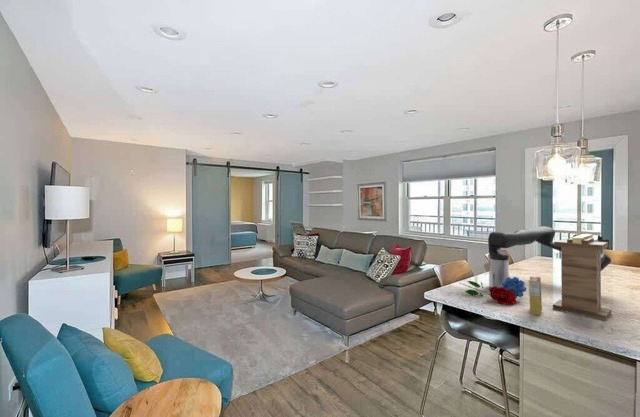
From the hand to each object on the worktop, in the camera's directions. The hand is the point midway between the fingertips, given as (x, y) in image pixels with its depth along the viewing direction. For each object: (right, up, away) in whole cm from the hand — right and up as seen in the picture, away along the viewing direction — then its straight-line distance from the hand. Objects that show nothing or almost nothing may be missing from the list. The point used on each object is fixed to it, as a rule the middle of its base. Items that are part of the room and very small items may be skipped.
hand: (586, 236), depth 139 cm
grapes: (-28, -34, +11) cm, 45 cm away
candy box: (-31, -34, -7) cm, 46 cm away
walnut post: (-10, -34, -8) cm, 36 cm away
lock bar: (-7, -2, -5) cm, 8 cm away
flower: (-43, -34, +13) cm, 56 cm away
